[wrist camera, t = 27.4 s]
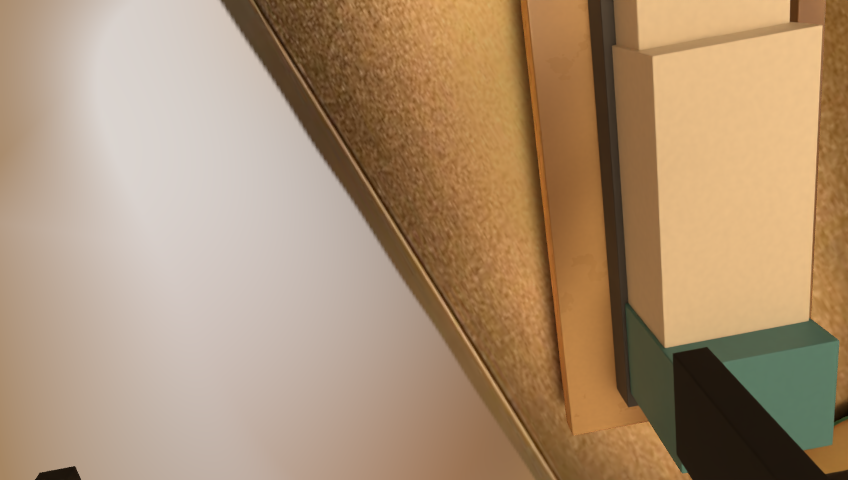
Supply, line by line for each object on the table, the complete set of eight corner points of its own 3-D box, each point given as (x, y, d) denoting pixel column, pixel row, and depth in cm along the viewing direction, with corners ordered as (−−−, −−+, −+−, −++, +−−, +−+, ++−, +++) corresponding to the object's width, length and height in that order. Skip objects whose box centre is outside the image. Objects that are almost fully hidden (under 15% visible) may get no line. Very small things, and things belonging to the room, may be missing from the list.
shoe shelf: (556, 400, 47) (582, 456, 41) (502, -71, 36) (527, -80, 30) (754, 362, 47) (807, 414, 41) (761, -118, 36) (833, -136, 30)
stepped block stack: (742, 365, 42) (835, 460, 34) (616, 389, 42) (678, 490, 34) (745, -49, 33) (871, -58, 25) (585, -19, 33) (659, -20, 25)
